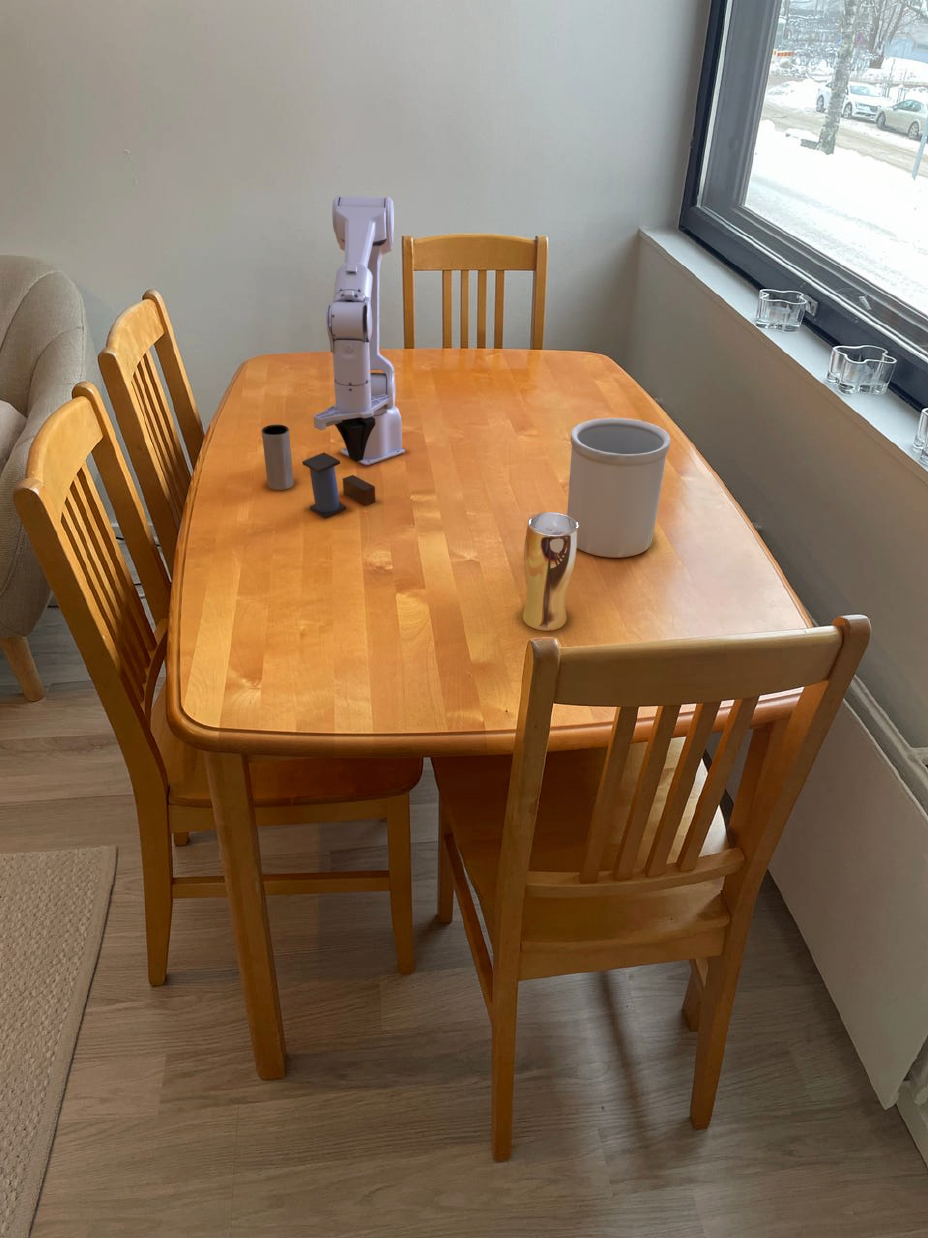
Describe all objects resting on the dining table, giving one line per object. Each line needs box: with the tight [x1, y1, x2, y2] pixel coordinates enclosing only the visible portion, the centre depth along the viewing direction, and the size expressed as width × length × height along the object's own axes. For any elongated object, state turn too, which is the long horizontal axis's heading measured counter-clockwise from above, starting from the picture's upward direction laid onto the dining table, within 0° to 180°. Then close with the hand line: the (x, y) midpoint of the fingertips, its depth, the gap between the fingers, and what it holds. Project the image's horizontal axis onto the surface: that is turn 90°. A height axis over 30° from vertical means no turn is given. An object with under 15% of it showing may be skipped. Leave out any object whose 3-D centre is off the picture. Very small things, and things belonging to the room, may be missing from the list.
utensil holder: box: [566, 417, 671, 559], centre depth 142 cm, size 15×15×18 cm
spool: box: [301, 451, 347, 520], centre depth 150 cm, size 10×4×9 cm
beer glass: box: [522, 511, 578, 632], centre depth 123 cm, size 7×7×15 cm
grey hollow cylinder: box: [261, 424, 295, 491], centre depth 157 cm, size 4×4×10 cm
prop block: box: [342, 474, 376, 507], centre depth 155 cm, size 2×6×3 cm, turn 44°
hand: (356, 459), depth 152 cm, fingers closed
